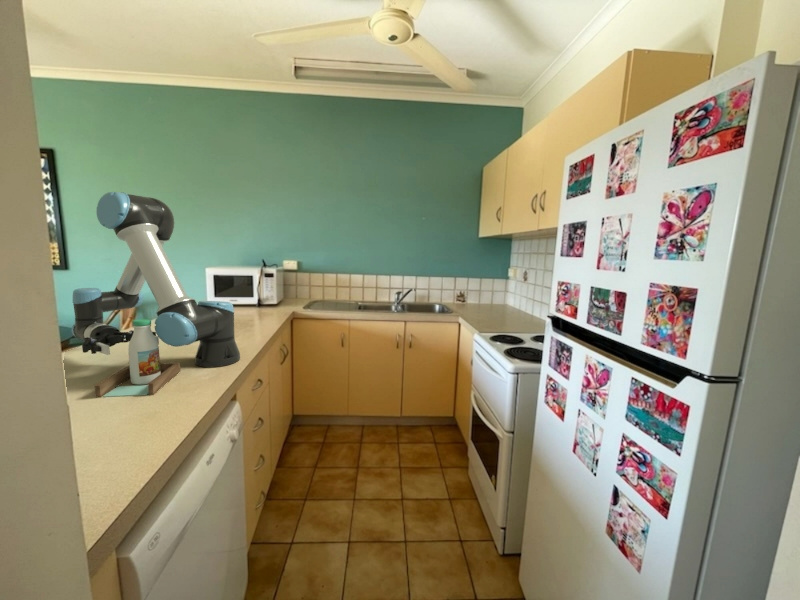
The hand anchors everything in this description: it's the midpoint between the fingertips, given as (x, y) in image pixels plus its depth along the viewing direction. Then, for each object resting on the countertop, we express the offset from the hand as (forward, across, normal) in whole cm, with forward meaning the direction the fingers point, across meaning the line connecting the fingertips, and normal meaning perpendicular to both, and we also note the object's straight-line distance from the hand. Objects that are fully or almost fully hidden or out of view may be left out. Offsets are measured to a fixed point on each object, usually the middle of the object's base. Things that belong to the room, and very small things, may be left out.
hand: (134, 345), depth 108 cm
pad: (+10, +6, -11) cm, 16 cm away
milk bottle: (+5, 0, -11) cm, 12 cm away
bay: (+7, +2, -11) cm, 13 cm away
